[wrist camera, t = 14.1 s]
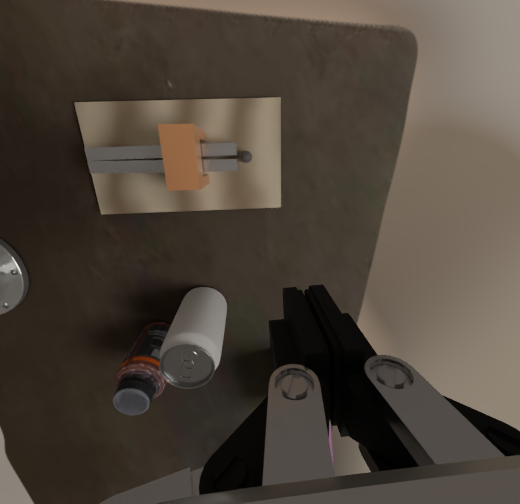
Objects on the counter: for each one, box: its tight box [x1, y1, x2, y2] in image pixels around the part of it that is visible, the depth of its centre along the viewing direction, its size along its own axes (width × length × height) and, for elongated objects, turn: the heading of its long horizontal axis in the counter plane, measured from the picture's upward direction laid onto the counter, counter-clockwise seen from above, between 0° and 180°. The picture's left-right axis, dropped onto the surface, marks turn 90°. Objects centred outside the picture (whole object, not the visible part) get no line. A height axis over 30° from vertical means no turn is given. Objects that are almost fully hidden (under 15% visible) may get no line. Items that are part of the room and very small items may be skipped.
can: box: [159, 287, 227, 389], centre depth 32 cm, size 6×6×12 cm
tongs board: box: [74, 97, 281, 214], centre depth 29 cm, size 22×12×4 cm, turn 92°
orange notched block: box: [158, 123, 210, 191], centre depth 26 cm, size 3×6×7 cm, turn 2°
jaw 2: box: [87, 159, 238, 174], centre depth 28 cm, size 15×1×3 cm, turn 91°
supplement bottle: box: [113, 322, 171, 415], centre depth 34 cm, size 6×6×11 cm
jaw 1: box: [84, 142, 238, 161], centre depth 27 cm, size 15×1×3 cm, turn 92°
